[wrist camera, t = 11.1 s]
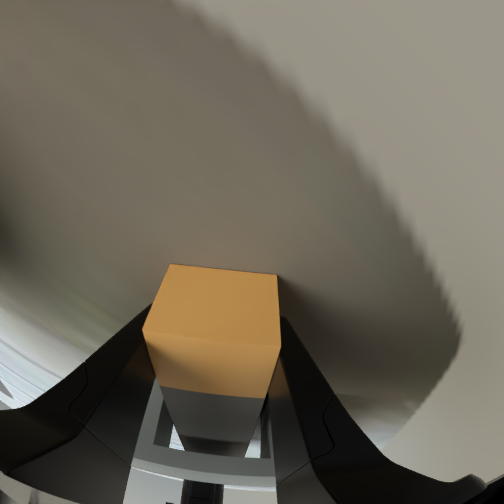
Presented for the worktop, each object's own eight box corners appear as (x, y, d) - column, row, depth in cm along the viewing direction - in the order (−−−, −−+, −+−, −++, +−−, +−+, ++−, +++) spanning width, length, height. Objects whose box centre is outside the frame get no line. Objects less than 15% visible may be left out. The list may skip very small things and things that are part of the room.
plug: (241, 435, 18) (239, 468, 15) (195, 430, 18) (191, 463, 15) (276, 274, 9) (281, 346, 7) (170, 263, 9) (142, 329, 7)
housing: (308, 418, 16) (312, 484, 11) (131, 399, 15) (114, 461, 11) (326, 392, 14) (336, 472, 9) (115, 368, 13) (90, 443, 9)
